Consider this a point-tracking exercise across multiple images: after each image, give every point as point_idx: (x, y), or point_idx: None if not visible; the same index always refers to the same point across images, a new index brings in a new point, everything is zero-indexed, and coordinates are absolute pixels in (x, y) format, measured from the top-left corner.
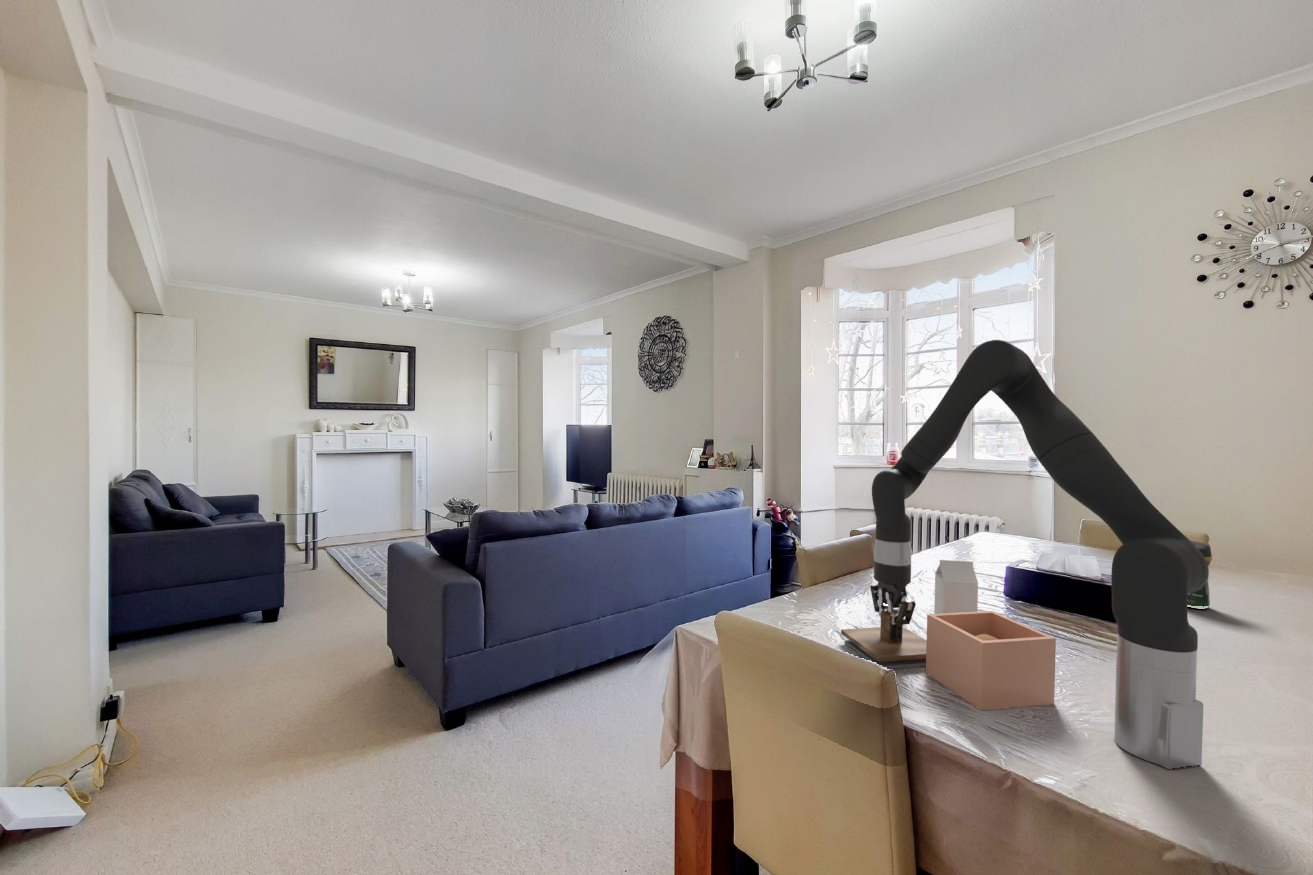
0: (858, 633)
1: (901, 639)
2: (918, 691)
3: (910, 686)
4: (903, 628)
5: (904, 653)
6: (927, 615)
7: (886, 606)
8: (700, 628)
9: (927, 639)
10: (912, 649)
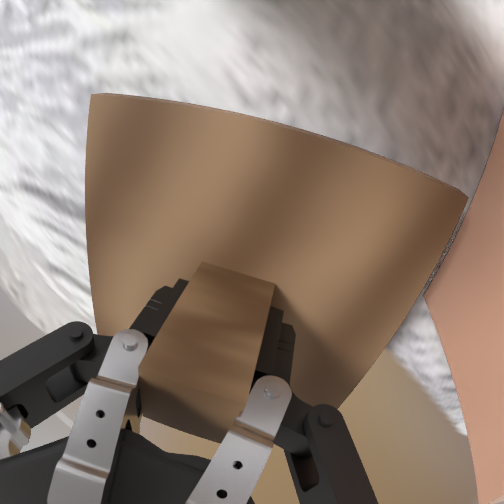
0: None
1: (291, 325)
2: (447, 383)
3: (425, 382)
4: (118, 111)
5: (359, 357)
6: (480, 502)
7: (135, 429)
8: (68, 421)
9: (462, 397)
10: (355, 306)
